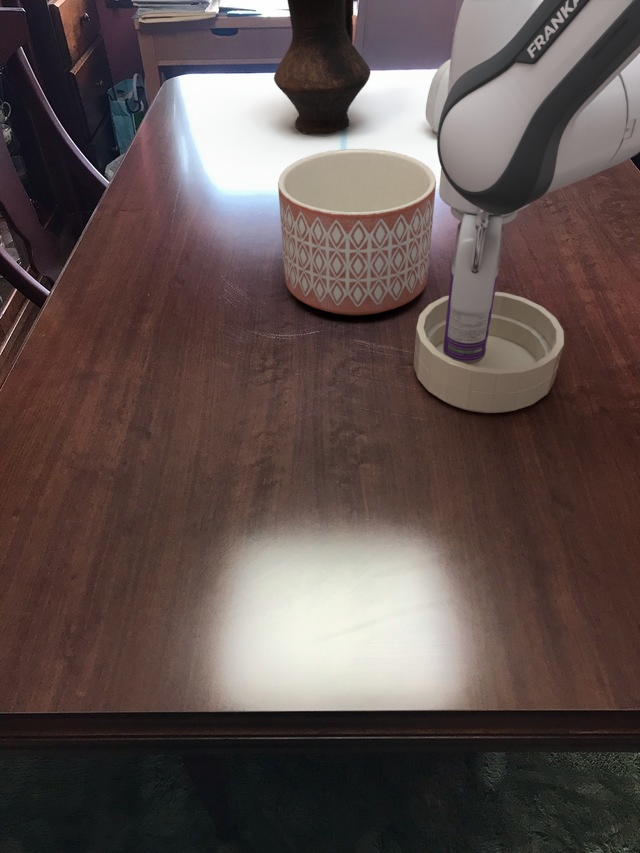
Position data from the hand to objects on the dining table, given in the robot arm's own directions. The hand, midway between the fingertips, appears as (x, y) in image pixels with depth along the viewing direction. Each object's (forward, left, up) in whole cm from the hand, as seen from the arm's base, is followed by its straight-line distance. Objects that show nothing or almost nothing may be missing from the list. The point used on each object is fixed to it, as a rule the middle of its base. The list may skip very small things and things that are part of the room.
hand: (471, 305), depth 73 cm
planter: (+16, -16, -9) cm, 24 cm away
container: (0, 0, -6) cm, 6 cm away
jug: (+34, -75, -9) cm, 83 cm away
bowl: (-2, 0, -9) cm, 9 cm away
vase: (+7, -75, -9) cm, 76 cm away
